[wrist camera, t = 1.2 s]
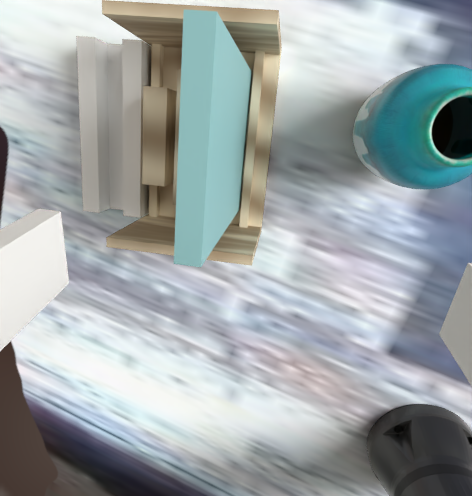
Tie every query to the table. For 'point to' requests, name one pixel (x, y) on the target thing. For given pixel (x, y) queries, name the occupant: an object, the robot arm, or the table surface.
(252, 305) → the table surface
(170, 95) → the offcut short
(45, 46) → the table surface
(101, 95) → the stand
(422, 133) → the vase
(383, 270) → the table surface
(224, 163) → the teal rectangular panel
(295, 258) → the table surface
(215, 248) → the rack
